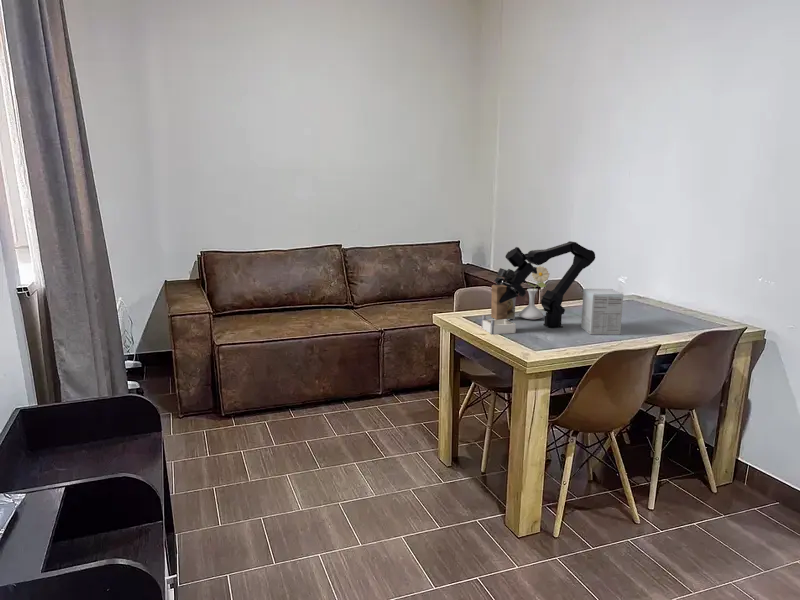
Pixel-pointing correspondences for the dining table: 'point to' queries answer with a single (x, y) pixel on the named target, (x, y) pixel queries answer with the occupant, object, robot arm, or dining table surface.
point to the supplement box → (602, 311)
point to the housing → (498, 326)
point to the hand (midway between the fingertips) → (496, 301)
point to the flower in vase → (531, 309)
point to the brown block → (496, 307)
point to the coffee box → (511, 308)
